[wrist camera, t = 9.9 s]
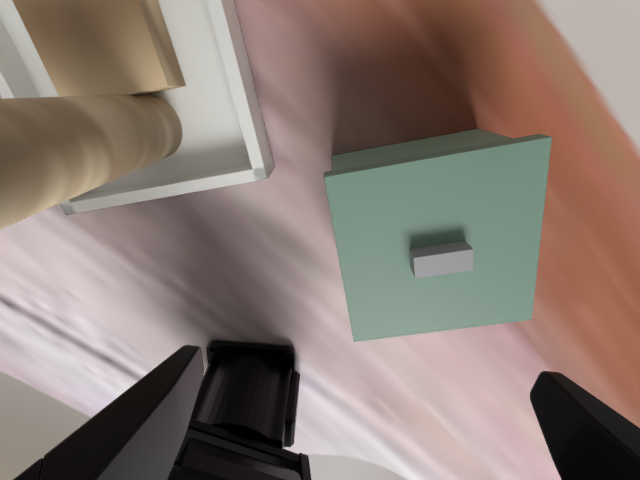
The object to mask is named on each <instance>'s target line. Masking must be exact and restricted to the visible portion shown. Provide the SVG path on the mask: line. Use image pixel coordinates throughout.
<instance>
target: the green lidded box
mask: <svg viewBox="0 0 640 480" xmlns="http://www.w3.org/2000/svg"><path fill="white" fill-rule="evenodd" d="M551 140H552V137H550V136H546V135H541V134H537V135H531V136H525V137H520V138H510V137H506V136H503V135H499V134H496V133H492V132H488V131H485V130H481V129H474V130H468V131H463V132H457V133H452V134H447V135H441V136H436V137H430V138H425V139H419V140H414V141H408V142H403V143H397V144H392V145H387V146H381V147H376V148H370V149H365V150H359V151H354V152H348V153H343V154H337V155H332V171H330V172H324V180H325V185H326V191H327V196H328V202H329V207H330V213H331V218H332V224H333V229H334V235H335V240H336V246H337V251H338V257H339V262H340V268H341V273H342V278H343V284H344V289H345V295H346V300H347V306H348V311H349V317H350V322H351V328H352V333H353V339H354V342H357V341H365V340H373V339H381V338H389V337H397V336H405V335H413V334H421V333H429V332H437V331H445V330H453V329H461V328H469V327H477V326H485V325H493V324H501V323H509V322H517V321H525V320H532V311H533V302H534V293H535V284H536V275H537V266H538V257H539V248H540V239H541V230H542V221H543V212H544V203H545V194H546V185H547V176H548V167H549V158H550V149H551Z"/></svg>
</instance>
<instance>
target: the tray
mask: <svg viewBox="0 0 640 480" xmlns="http://www.w3.org/2000/svg"><path fill="white" fill-rule="evenodd" d="M158 2H159V5H160V8H161V11H162V14H163V17H164V20H165V23H166V26H167V29H168V32H169V35H170V38H171V41H172V44H173V47H174V50H175V53H176V56H177V59H178V62H179V65H180V68H181V71H182V74H183V78H184V81H185V84H186V86H184V87H180V88H175V89H171V90H166V91H162V92H157V93H153V94H151V95H155V96H157V97H159V98H161V99H163V100H164V101H166V102H167V103H168V104H169V105H170V106H171V107H172V108H173V109H174V110H175V112H176V113H177V115H178V117H179V119H180V122H181V125H182V141H181V144H180V146H179V148H178V149H177V150H176V152H174V153H173V154H172V155H170V156H168V157H166V158H164V159H161V160H159V161H157V162H154V163H152V164H150V165H147V166H145V167H143V168H141V169H138V170H136V171H134V172H131V173H129V174H127V175H124V176H122V177H120V178H117V179H115V180H113V181H110V182H108V183H106V184H104V185H101V186H99V187H97V188H94V189H92V190H90V191H87V192H85V193H83V194H80V195H78V196H76V197H73V198H71V199H69V200H67V201H64V202H62V203H60V205H61V207H62V209H63V211H64V212H65V214H66V215H69V214H75V213H80V212H86V211H92V210H97V209H103V208H108V207H114V206H119V205H125V204H130V203H136V202H142V201H147V200H153V199H158V198H164V197H169V196H175V195H181V194H186V193H192V192H197V191H203V190H208V189H214V188H219V187H225V186H231V185H236V184H242V183H247V182H253V181H258V180H264V179H268V177H269V176H270V174H271V173H272V171H273V170H274V168H275V167H274V163H273V159H272V155H271V151H270V147H269V142H268V138H267V134H266V130H265V126H264V122H263V118H262V114H261V110H260V106H259V102H258V97H257V93H256V89H255V85H254V81H253V77H252V73H251V69H250V65H249V61H248V57H247V52H246V48H245V44H244V40H243V36H242V32H241V28H240V24H239V20H238V16H237V12H236V7H235V3H234V0H158ZM0 96H1V98H2V99H7V98H35V97H59V96H58V94H57V91H56V89H55V87H54V85H53V83H52V81H51V79H50V77H49V75H48V73H47V71H46V69H45V67H44V65H43V63H42V61H41V58H40V56H39V54H38V52H37V50H36V48H35V46H34V44H33V42H32V40H31V38H30V36H29V34H28V32H27V30H26V28H25V26H24V23H23V21H22V19H21V17H20V15H19V13H18V11H17V9H16V7H15V5H14V3H13V1H12V0H0Z"/></svg>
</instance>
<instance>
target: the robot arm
mask: <svg viewBox="0 0 640 480" xmlns="http://www.w3.org/2000/svg"><path fill="white" fill-rule="evenodd" d="M213 347H215V348H213ZM287 353H290V354H287ZM207 359H208V367H207V369H206V372H205V374H204V376H203V373H204V366H203V358H202V351H201V348H200V347H199V346H192V345H185V346H183V347H181V348H180V349H179V350H177V351H176V352H175V353H174V354H172V355H171V356H170V357H168V358H167V359H166V360H165V361H163V362H162V363H161V364H160V365H158V366H157V367H156V368H154V369H153V370H152V371H151V372H149V373H148V374H147V375H146V376H144V377H143V378H142V379H140V380H139V381H138V382H137V383H135V384H134V385H133V386H132V387H130V388H129V389H128V390H127V391H125V392H124V393H123V394H121V395H120V396H119V397H118V398H116V399H115V400H114V401H113V402H111V403H110V404H109V405H107V406H106V407H105V408H104V409H102V410H101V411H100V412H99V413H97V414H96V415H95V416H94V417H92V418H91V419H90V420H88V421H87V422H86V423H85V424H83V425H82V426H81V427H80V428H78V429H77V430H76V431H74V432H73V433H72V434H71V435H69V436H68V437H67V438H66V439H64V440H63V441H62V442H60V443H59V444H58V445H57V446H55V447H54V448H53V449H52V450H50V451H49V452H48V453H47V454H45V456H44V458H41V459H39V460H38V461H36V462H35V463H34V464H32V465H31V466H30V467H29V468H27V469H26V470H25V471H24V472H22V473H21V474H20V475H18V476H17V477H16V478H14V479H13V480H311V474H310V466H309V459H308V455H305V454H302V453H299V454H297V453H294V452H291V451H288V450H285V449H284V447H291V446H292V445H293V444H294V436H295V425H296V415H297V405H298V394H299V380H300V374H299V373H298V371H294V366H295V349H294V348H292V347H290V346H278V345H265V344H253V343H240V342H227V341H211V342H209V344H208V346H207ZM202 378H203V379H202ZM530 400H531V403H532V406H533V409H534V411H535V414H536V417H537V419H538V422H539V425H540V427H541V430H542V433H543V435H544V438H545V441H546V444H547V446H548V449H549V452H550V454H551V457H552V459H553V462H554V464H555V466H556V468H557V471H558V473H559V475H560V477H561V479H562V480H640V428H639V427H637V426H636V425H635V424H633V423H632V422H630V421H629V420H627V419H626V418H624V417H623V416H622V415H620V414H619V413H617V412H616V411H614V410H613V409H612V408H610V407H609V406H607V405H606V404H604V403H603V402H602V401H600V400H599V399H597V398H596V397H594V396H593V395H591V394H590V393H589V392H587V391H586V390H584V389H583V388H581V387H580V386H579V385H577V384H576V383H574V382H573V381H571V380H570V379H569V378H567V377H566V376H564V375H563V374H561V373H558V372H550V371H543V372H541V373H540V374H539V376H538V378H537V380H536V382H535V384H534V386H533V388H532V390H531V392H530Z"/></svg>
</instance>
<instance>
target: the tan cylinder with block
mask: <svg viewBox="0 0 640 480" xmlns="http://www.w3.org/2000/svg"><path fill="white" fill-rule="evenodd" d="M12 1H13V3H14V5H15V7H16V9H17V11H18V13H19V15H20V17H21V19H22V21H23V23H24V26H25V28H26V30H27V32H28V34H29V36H30V38H31V40H32V42H33V44H34V46H35V48H36V50H37V52H38V54H39V56H40V58H41V61H42V63H43V65H44V67H45V69H46V71H47V73H48V75H49V77H50V79H51V81H52V83H53V85H54V87H55V89H56V91H57V94H58V96H59V97H35V98H7V99H0V229H2V228H4V227H6V226H9V225H11V224H13V223H16V222H18V221H20V220H23V219H25V218H27V217H30V216H32V215H34V214H36V213H39V212H41V211H43V210H46V209H48V208H50V207H53V206H55V205H57V204H60V203H62V202H64V201H67V200H69V199H71V198H73V197H76V196H78V195H80V194H83V193H85V192H87V191H90V190H92V189H94V188H97V187H99V186H101V185H104V184H106V183H108V182H110V181H113V180H115V179H117V178H120V177H122V176H124V175H127V174H129V173H131V172H134V171H136V170H138V169H141V168H143V167H145V166H147V165H150V164H152V163H154V162H157V161H159V160H161V159H164V158H166V157H168V156H170V155H172V154H173V153H174V152H176V150H177V149H178V148H179V146H180V144H181V141H182V125H181V122H180V119H179V117H178V115H177V113H176V112H175V110H174V109H173V108H172V107H171V106H170V105H169V104H168V103H167V102H166V101H164V100H163V99H161V98H159V97H157V96H155V95H151V94H153V93H157V92H162V91H166V90H171V89H175V88H180V87H184V86H186V84H185V81H184V78H183V74H182V71H181V68H180V65H179V62H178V59H177V56H176V53H175V50H174V47H173V44H172V41H171V38H170V35H169V32H168V29H167V26H166V23H165V20H164V17H163V14H162V11H161V8H160V5H159V2H158V0H12Z"/></svg>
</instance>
